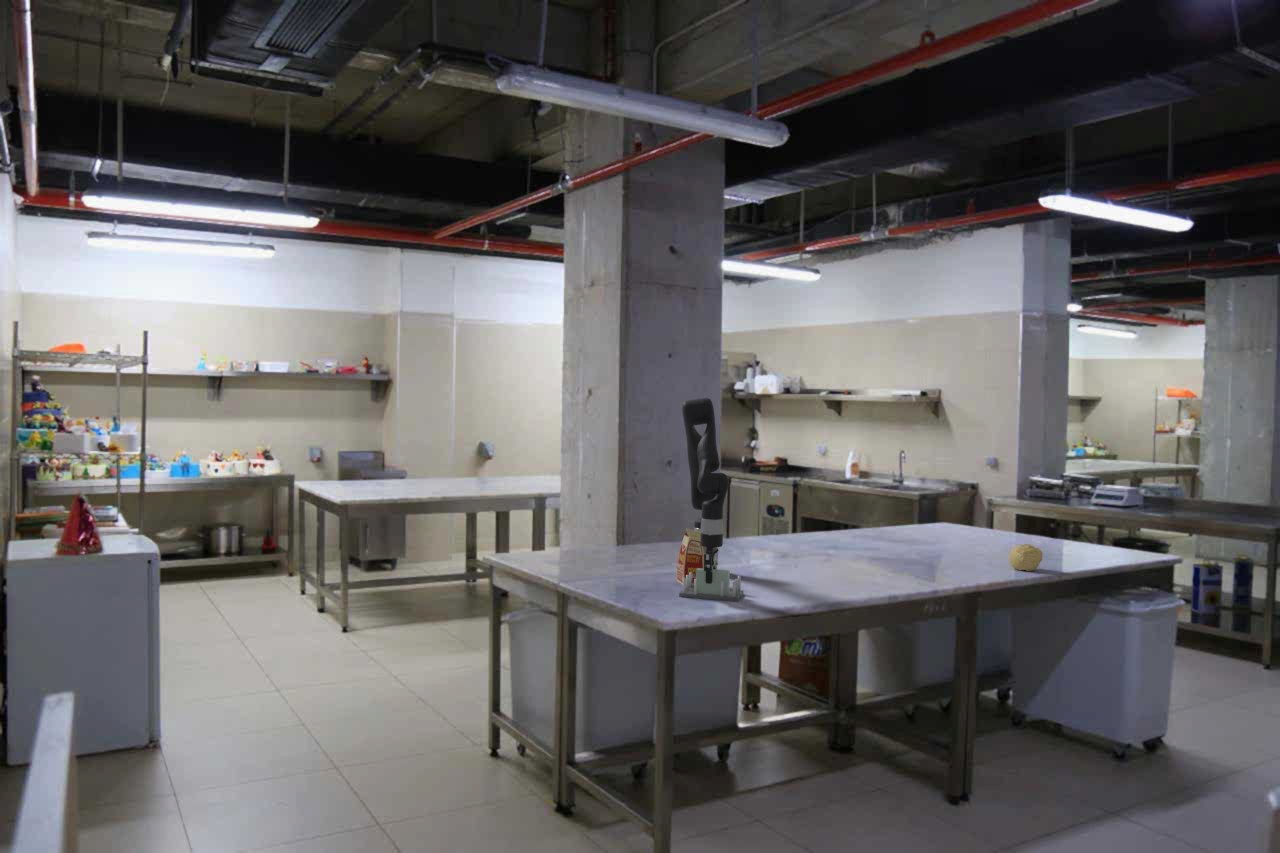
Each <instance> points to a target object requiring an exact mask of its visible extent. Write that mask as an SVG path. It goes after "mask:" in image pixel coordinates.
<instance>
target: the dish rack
mask: <svg viewBox="0 0 1280 853" xmlns="http://www.w3.org/2000/svg"><path fill="white" fill-rule="evenodd" d="M741 577H742V576H741V575H737V578H735V580H734V581H733V582H732V589H729V595H728V596H724V581H721V595H711V594H698V593H697V579H694V585H692V572H690V573H689V575H686V578H683V585H682V590H681V591H680V592H679V593H678V597H679V598H680V597H681V598H692V599H705V600H715V601H716V600H717V601H728V602H729V601H730V602H739V601H740V599H741V598H742V597H743V596H744V590H742V589H741V586H742V585H741V582H742V581H741V579H742V578H741Z"/></svg>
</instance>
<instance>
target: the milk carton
mask: <svg viewBox="0 0 1280 853" xmlns="http://www.w3.org/2000/svg"><path fill="white" fill-rule="evenodd" d="M700 538H701V532H700V531H694V529H690V528H685V532H684V535H683V539H682V541H681V545H680V550H679V553H678V561H677V565H676V582H677V583H679V584H681V585H682V586H683V578H686V575H689V573H690V572H692V586H694V579H696V569H697V568H703V569H704V550H703V546H701V545H700Z"/></svg>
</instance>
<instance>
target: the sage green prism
mask: <svg viewBox="0 0 1280 853" xmlns="http://www.w3.org/2000/svg"><path fill="white" fill-rule="evenodd" d="M730 572H731V571H730V570H729V569H718V568H717V569H713V573H712V583H711V584H707V583H705V578H706V572H705V571H704V569H703V568H697V569H696V579H697V593H698V594H711V595H721V581H724V596H728V595H729V590H730V577H731V576H730V574H731V573H730Z"/></svg>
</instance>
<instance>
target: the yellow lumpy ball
mask: <svg viewBox="0 0 1280 853" xmlns="http://www.w3.org/2000/svg"><path fill="white" fill-rule="evenodd" d="M1009 552H1010V553H1009V555H1008V560H1009V561H1008V562H1009V564H1010V567H1012V568H1014V569H1016V570H1017V571H1018V570H1019V571H1021V570H1026V571H1025V572H1034V571H1036V570H1037V569H1038V567H1039V566H1040V564H1041V562H1042V561H1043V555H1044V553H1043V551H1042V550H1041V548H1038V547H1036V546H1033V545H1032V544H1027V543H1024V544H1019V545H1016V546H1014V547H1013V548H1012V549H1011V551H1009Z"/></svg>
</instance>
